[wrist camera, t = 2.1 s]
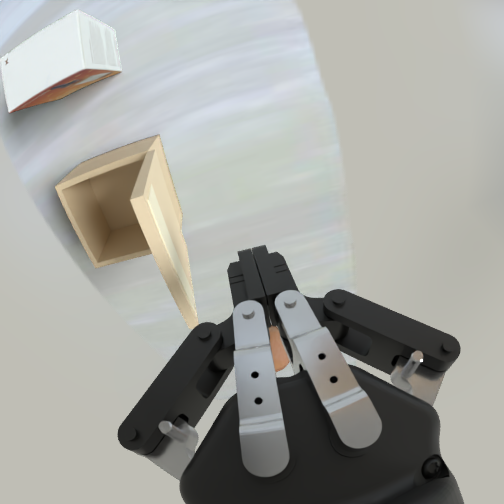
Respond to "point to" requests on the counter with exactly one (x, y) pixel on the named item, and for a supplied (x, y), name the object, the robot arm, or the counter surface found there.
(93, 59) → the small box
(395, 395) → the robot arm
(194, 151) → the counter surface
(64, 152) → the counter surface
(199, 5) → the counter surface
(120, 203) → the carton
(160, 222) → the lid
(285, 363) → the onion
